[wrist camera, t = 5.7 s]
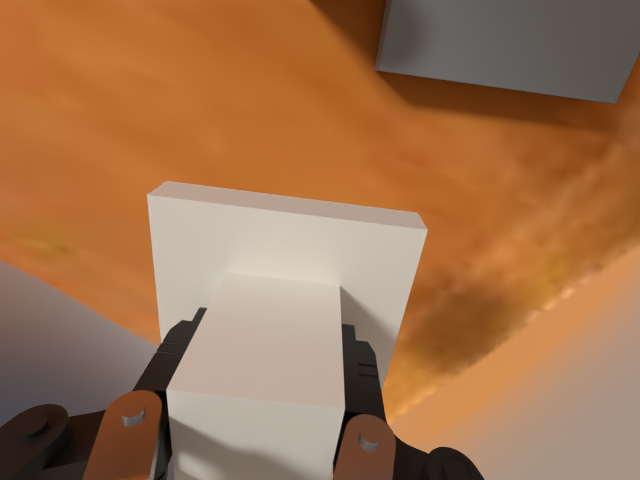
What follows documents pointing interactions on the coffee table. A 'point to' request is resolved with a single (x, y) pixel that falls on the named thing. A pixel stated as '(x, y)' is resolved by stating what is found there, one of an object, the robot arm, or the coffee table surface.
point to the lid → (272, 321)
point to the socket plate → (515, 44)
